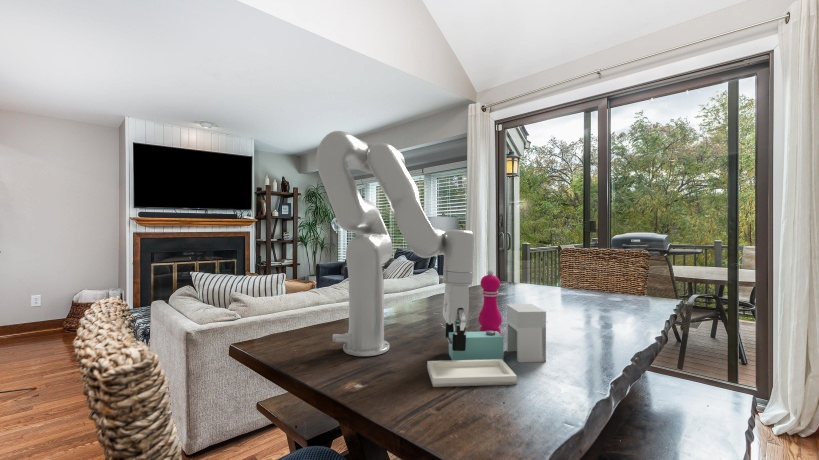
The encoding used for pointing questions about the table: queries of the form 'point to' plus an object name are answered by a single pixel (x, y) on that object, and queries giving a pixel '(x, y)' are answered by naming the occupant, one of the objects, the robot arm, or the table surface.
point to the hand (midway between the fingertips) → (454, 343)
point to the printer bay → (526, 332)
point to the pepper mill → (490, 304)
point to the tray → (470, 373)
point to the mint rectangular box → (479, 346)
